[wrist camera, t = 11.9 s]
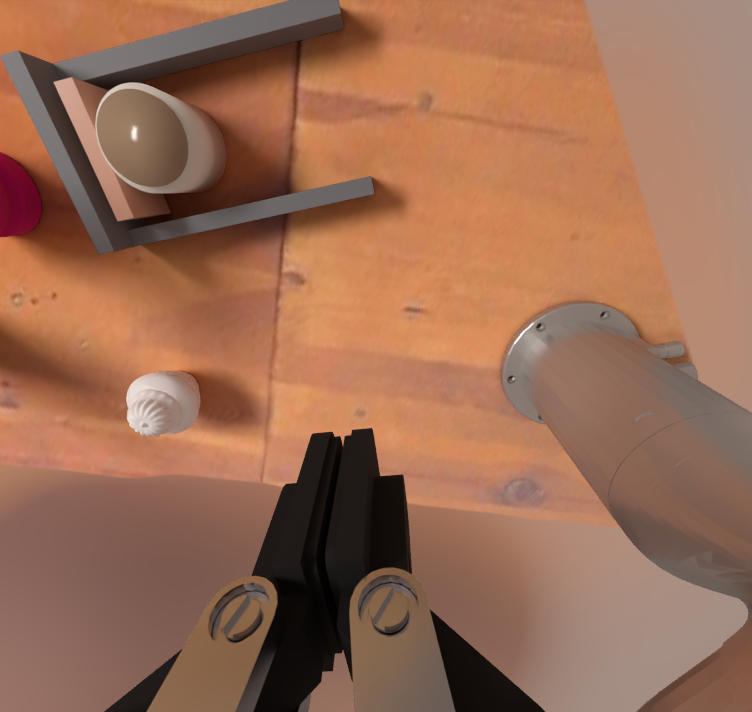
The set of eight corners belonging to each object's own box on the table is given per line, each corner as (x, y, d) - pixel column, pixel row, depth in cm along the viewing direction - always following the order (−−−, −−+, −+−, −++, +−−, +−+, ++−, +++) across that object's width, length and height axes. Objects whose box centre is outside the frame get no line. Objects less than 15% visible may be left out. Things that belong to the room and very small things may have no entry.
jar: (208, 92, 27) (165, 68, 21) (238, 183, 29) (206, 181, 24) (131, 113, 27) (70, 94, 22) (167, 200, 30) (120, 203, 24)
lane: (339, 6, 25) (331, -35, 20) (374, 193, 29) (374, 194, 25) (65, 78, 26) (-1, 55, 22) (139, 244, 31) (98, 254, 26)
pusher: (124, 96, 27) (71, 77, 22) (171, 213, 30) (133, 217, 25) (108, 100, 27) (53, 82, 22) (157, 216, 30) (117, 221, 25)
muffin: (225, 382, 36) (193, 423, 30) (194, 421, 38) (158, 468, 32) (168, 344, 35) (121, 379, 28) (138, 387, 37) (89, 430, 30)
